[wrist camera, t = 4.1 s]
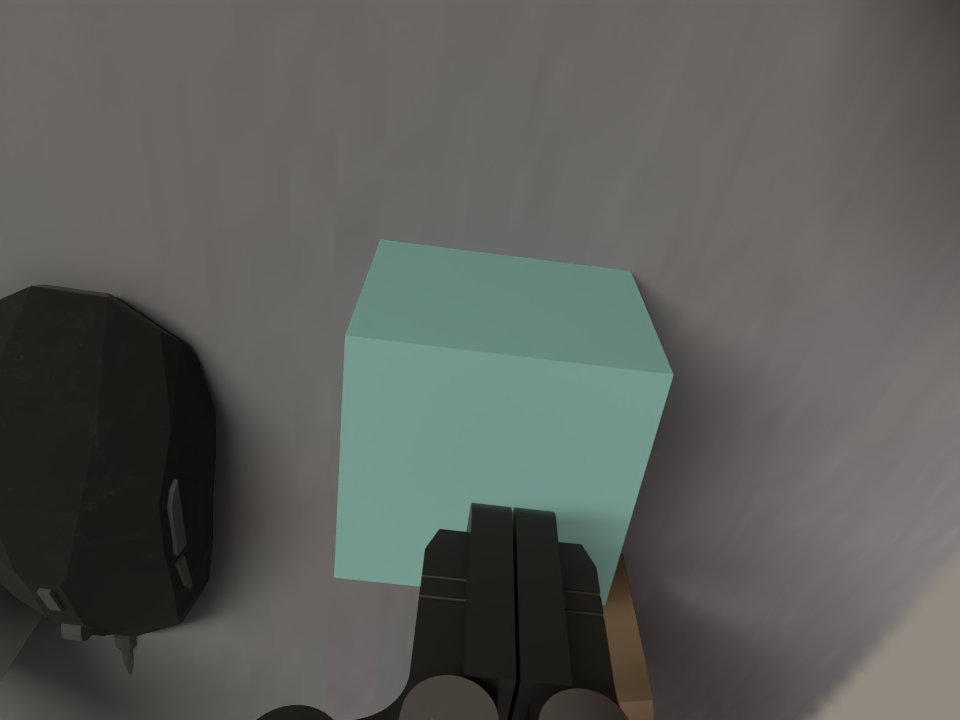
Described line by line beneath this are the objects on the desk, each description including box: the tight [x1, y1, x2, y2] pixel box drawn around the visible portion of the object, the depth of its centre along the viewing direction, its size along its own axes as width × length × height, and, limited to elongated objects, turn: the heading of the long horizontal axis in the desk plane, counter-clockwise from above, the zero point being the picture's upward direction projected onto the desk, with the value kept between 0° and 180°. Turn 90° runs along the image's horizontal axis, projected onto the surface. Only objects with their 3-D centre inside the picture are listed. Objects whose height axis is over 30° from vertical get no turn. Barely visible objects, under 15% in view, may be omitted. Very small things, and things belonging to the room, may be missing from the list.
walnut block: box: [602, 554, 654, 720], centre depth 22 cm, size 5×5×5 cm
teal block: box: [334, 240, 674, 606], centre depth 17 cm, size 6×6×5 cm
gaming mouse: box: [0, 285, 216, 676], centre depth 21 cm, size 6×15×4 cm, turn 172°
